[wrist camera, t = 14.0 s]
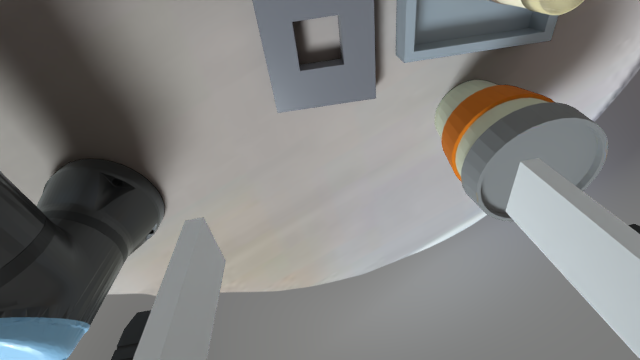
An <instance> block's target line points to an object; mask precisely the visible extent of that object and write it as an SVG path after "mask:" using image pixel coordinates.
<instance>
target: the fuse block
mask: <svg viewBox="0 0 640 360" xmlns="http://www.w3.org/2000/svg"><path fill="white" fill-rule="evenodd" d="M252 1H253V6H254V10H255V14H256V19H257V23H258V28H259V32H260V37H261V41H262V45H263V50H264V54H265V59H266V63H267V68H268V72H269V76H270V81H271V85H272V90H273V94H274V99H275V103H276V107H277V112H278V113H281V112H287V111H294V110H301V109H308V108H314V107H321V106H328V105H334V104H341V103H348V102H355V101H361V100H368V99H375V98H376V78H375V26H374V0H252ZM333 15H338V24H339V36H340V48H341V59H336V60H330V61H323V62H316V63H310V64H303V65H300V63H299V57H298V51H297V45H296V39H295V33H294V26H293V22H295V21H301V20H308V19H314V18H321V17H327V16H333Z"/></svg>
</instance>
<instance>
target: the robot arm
mask: <svg viewBox="0 0 640 360" xmlns="http://www.w3.org/2000/svg"><path fill="white" fill-rule="evenodd" d="M506 213H507V214H508V215H509V216H510V217H511V218H512V219H513V220H514V221H515V222H516V224H517V225H518V226H519V227H520V228H521V229H522V230H523V231H524V232H525V233H526V235H527V236H528V237H529V238H530V239H531V240H532V241H533V242H534V243H535V244H536V246H537V247H538V248H539V249H540V250H541V251H542V252H543V253H544V254H545V255H546V256H547V258H548V259H549V260H550V261H551V262H552V263H553V264H554V265H555V266H556V268H557V269H558V270H559V271H560V272H561V273H562V274H563V275H564V276H565V277H566V278H567V279H568V281H569V282H570V283H571V284H572V285H573V286H574V287H575V288H576V289H577V291H578V292H579V293H580V294H581V295H582V296H583V297H584V298H585V299H586V300H587V302H588V303H589V304H590V305H591V306H592V307H593V308H594V309H595V310H596V311H597V312H598V314H599V315H600V316H601V317H602V318H603V319H604V320H605V321H606V322H607V324H608V325H609V326H610V327H611V328H612V329H613V330H614V331H615V332H616V333H617V335H619V337H620V338H621V339H622V340H623V341H624V342H625V343H626V344H627V345H628V347H629V348H630V349H631V350H632V351H633V352H634V353H635V354H636V355H637V356H638V357H639V359H640V226H638V225H636V224H632V225H627V224H625V223H624V222H623V221H621V220H620V219H619V218H618V217H616V216H615V215H613V214H612V213H611V212H610V211H608V210H607V209H606V208H604V207H603V206H601V205H600V204H599V203H598V202H596V201H595V200H594V199H592V198H591V197H589V196H588V195H587V194H586V193H584V192H583V191H582V190H580V189H579V188H578V187H576V186H575V185H574V184H572V183H571V182H570V181H568V180H567V179H566V178H564V177H563V176H562V175H560V174H559V173H558V172H556V171H555V170H554V169H552V168H551V167H550V166H548V165H547V164H546V163H544V162H543V161H542V160H540V159H539V158H538V159H532V160H526V161H521V162H520V164H519V167H518V171H517V174H516V177H515V181H514V184H513V187H512V191H511V194H510V198H509V201H508V204H507V208H506ZM163 217H164V203H163V200H162V198H161V196H160V194H159V192H158V191H157V189H156V188H155V187H154V186H153V185H152V184H151V183H150V182H149V181H148V180H147V179H146V178H144V177H143V176H142V175H140V174H139V173H137V172H135V171H134V170H132V169H130V168H128V167H126V166H123V165H120V164H118V163H114V162H110V161H106V160H99V159H84V160H77V161H74V162H71V163H68V164H66V165H65V166H63V167H62V168H61V169H60V170H58V171H57V172H56V173H55V174H54V175H53V176H52V177H51V178H50V179H49V180H48V181H47V183H46V185H45V187H44V190H43V194H42V196H41V198H40V200H39V202H38V205H37V206H35V205H34V204H33V203H32V202H31V201H30V200H29V199H28V198H27V197H26V196H25V195H24V194H23V193H22V192H21V191H20V190H19V189H18V188H17V187H16V186H15V185H14V184H13V183H12V182H11V181H10V180H9V179H8V178H6V177H5V176H4V175H3V174H2V173H1V172H0V360H66V359H67V358H68V357H69V356H70V355H71V353H72V352H73V350H74V348H75V347H76V345H77V344H78V342H79V341H80V339H81V338H82V336H83V335H84V333H86V332H87V331H88V330H89V327H90V324H91V323H92V321H93V319H94V317H95V315H96V313H97V312H98V310H99V308H100V306H101V304H102V302H103V300H104V299H105V297H106V295H107V293H108V291H109V290H110V288H111V286H112V284H113V282H114V280H115V279H116V277H117V275H118V273H119V271H120V269H121V268H122V266H123V264H124V262H125V260H126V259H127V257H128V256H129V255H130V254H132V253H133V252H134V251H135V250H136V249H137V248H139V247H140V246H141V245H142V244H143V243H144V242H145V241H146V240H148V239H149V238H150V237H151V236H152V235H153V234H154V233H155V232H156V231H157V229H158V227H159V225H160V223H161V221H162V219H163ZM225 262H226V260H225V258H224V256H223V254H222V252H221V250H220V248H219V247H218V245H217V243H216V241H215V239H214V237H213V235H212V233H211V231H210V229H209V227H208V225H207V223H206V221H205V219H204V217H203V218H197V219H192V220H186V221H185V223H184V225H183V228H182V231H181V233H180V236H179V239H178V241H177V244H176V247H175V249H174V252H173V254H172V257H171V260H170V262H169V265H168V268H167V270H166V273H165V276H164V278H163V281H162V284H161V286H160V289H159V291H158V294H157V297H156V299H155V302H154V305H153V307H152V310H150V311H144V312H138V313H137V314H136V315H135V316H134V317H133V319H132V320H131V321H130V323H129V324H128V325H127V327H126V328H125V329H124V331H123V334H122V336H121V338H120V340H119V343H118V345H117V350H115V352H114V354H113V356H112V359H111V360H207V356H208V351H209V345H210V340H211V335H212V330H213V325H214V319H215V314H216V309H217V304H218V298H219V293H220V288H221V283H222V277H223V272H224V267H225Z"/></svg>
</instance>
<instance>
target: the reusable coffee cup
mask: <svg viewBox="0 0 640 360" xmlns="http://www.w3.org/2000/svg"><path fill="white" fill-rule="evenodd" d="M435 126H436V129H437V131H438V133H439V135H440V137H441V139H442V147H443V151H444V153H445V155H446V157H447V159H448V161H449V163H450V165H451V167H452V169H453V171H454V173H455V174H456V176H457V178H458V179H459V180H460V181H461V182H462V186H463V188H464V190H465V192H466V194H467V195H468V196H469V197H470V198H471V199H472V200H473V201H474V202H475V203H476V204H477V205H478V206H479V207H480V208H481V209H482V210H483V211H484V212H485V213H486V214H487V215H489V216H491V217H493V218H495V219H499V220H502V221H514V220H513V219H512V218H511V217H510V216H509V215H508V214H507V213H506V208H507V204H508V201H509V198H510V194H511V191H512V187H513V184H514V181H515V177H516V174H517V171H518V167H519V164H520V162H521V161H526V160H532V159H538V158H539V159H540V160H542V161H543V162H544V163H546V164H547V165H548V166H550V167H551V168H552V169H554V170H555V171H556V172H558V173H559V174H560V175H562V176H563V177H564V178H566V179H567V180H568V181H570V182H571V183H572V184H574V185H575V186H576V187H578V188H579V189H580V190H582V191H584V190H585V189H586V188H587V187H588V186H589V185H590V184H591V183H592V181H593V180H594V179H595V178H596V177H597V175H598V173H599V172H600V170H601V169H602V167H603V164H604V162H605V159H606V157H607V151H608V141H607V137H606V135H605V133H604V131H603V130H602V129H601V128H600V127H599V126H598V125H597V124H596V123H594V122H593V121H592V120H590V119H589V118H588V117H586V116H585V115H584V114H582V113H581V112H579V111H578V110H577V109H575V108H573V107H571V106H569V105H567V104H562V103H556V102H554V101H553V100H552V99H550V98H547V97H545V96H543V95H540V94H537V93H534V92H531V91H528V90H525V89H521V88H518V87H515V86H510V85H497V84H494V83H491V82H488V81H484V80H471V81H467V82H464V83H462V84H460V85H458V86H456V87H455V88H453V89H452V90H451V91H450V92H448V93H447V94H446V95H445V97H444V98H443V99H442V100H441V102H440V104H439V105H438V108H437V110H436V114H435Z"/></svg>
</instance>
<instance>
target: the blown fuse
mask: <svg viewBox="0 0 640 360" xmlns="http://www.w3.org/2000/svg"><path fill="white" fill-rule="evenodd" d="M487 1H491V2H494V3H499V4H504V5H512V6H517V7H522V8H527V9H528V10H530V11H534V12H539V13H544V14H549V15H561V14H564V13H567V12H569V11H571V10H573V9H574V8H576V7H577V6H579V5H580V4H581V3H582V2H583V1H584V0H487Z"/></svg>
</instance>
